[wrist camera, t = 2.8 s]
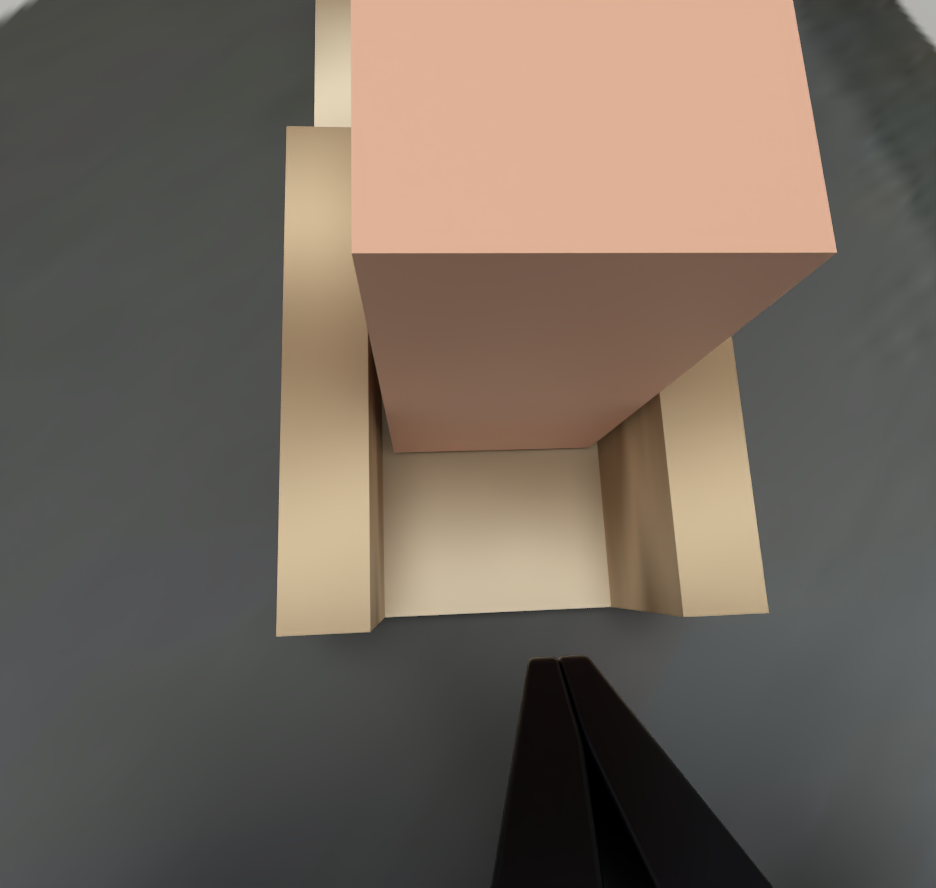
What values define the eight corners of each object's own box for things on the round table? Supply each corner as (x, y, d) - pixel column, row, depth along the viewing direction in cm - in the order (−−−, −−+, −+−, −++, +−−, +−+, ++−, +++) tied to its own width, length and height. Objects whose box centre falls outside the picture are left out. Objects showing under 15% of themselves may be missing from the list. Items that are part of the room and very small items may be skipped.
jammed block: (589, 447, 16) (836, 253, 7) (394, 452, 16) (351, 254, 6) (572, 235, 18) (759, -192, 8) (389, 235, 17) (350, -215, 7)
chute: (666, 602, 17) (779, 612, 12) (316, 618, 16) (264, 636, 11) (605, 6, 21) (669, -192, 16) (320, -2, 20) (284, -213, 15)
